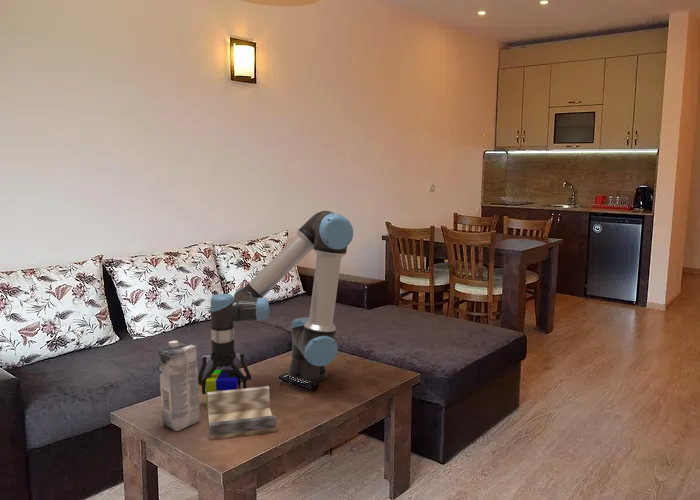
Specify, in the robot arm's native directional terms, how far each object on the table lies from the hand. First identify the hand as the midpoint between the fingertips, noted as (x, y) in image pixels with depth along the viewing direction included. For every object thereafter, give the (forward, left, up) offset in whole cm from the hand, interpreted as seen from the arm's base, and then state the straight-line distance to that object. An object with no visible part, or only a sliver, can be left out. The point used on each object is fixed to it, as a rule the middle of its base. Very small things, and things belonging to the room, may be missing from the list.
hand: (224, 400), depth 202 cm
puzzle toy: (0, 0, -1) cm, 1 cm away
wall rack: (-4, +17, -1) cm, 18 cm away
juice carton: (+14, +12, -1) cm, 19 cm away
